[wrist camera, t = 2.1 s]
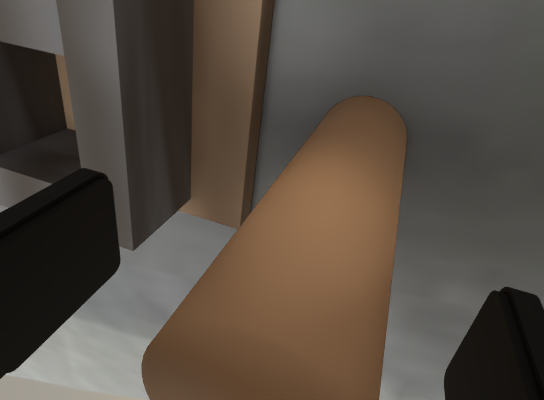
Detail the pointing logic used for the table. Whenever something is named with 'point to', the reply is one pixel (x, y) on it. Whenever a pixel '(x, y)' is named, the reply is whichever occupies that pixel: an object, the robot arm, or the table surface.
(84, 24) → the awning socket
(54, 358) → the table surface
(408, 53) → the table surface
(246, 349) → the peg
